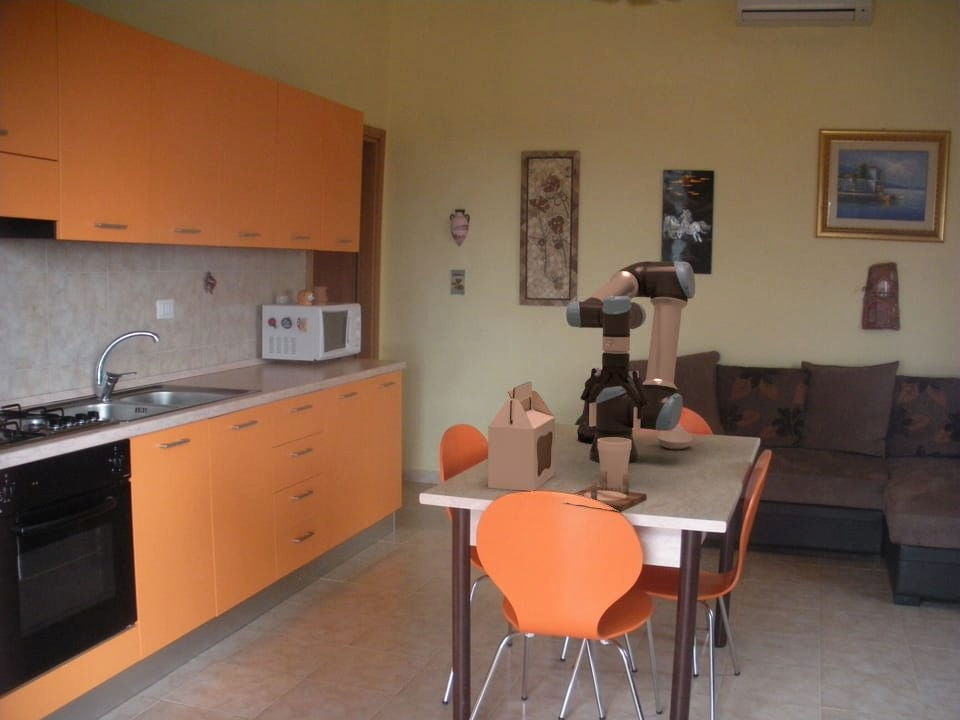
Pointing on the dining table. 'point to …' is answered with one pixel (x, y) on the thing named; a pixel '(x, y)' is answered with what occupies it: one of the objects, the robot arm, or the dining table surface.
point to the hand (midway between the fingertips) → (614, 428)
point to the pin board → (613, 493)
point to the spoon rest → (675, 438)
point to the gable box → (521, 442)
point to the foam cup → (614, 459)
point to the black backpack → (584, 430)
